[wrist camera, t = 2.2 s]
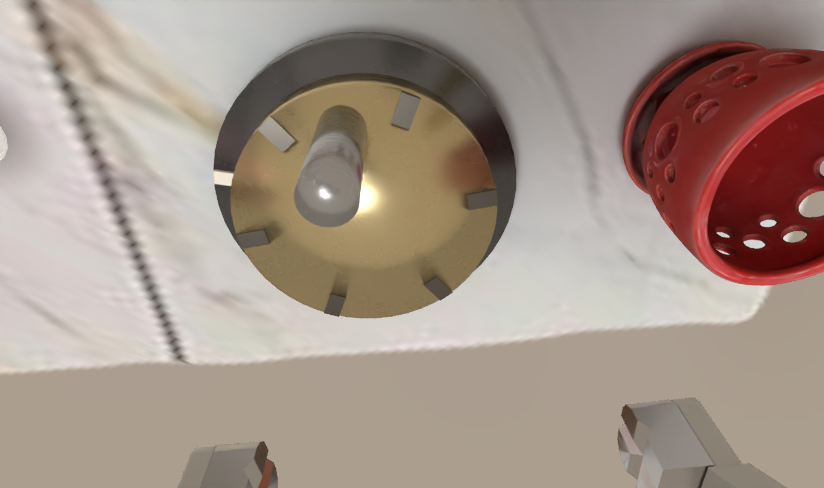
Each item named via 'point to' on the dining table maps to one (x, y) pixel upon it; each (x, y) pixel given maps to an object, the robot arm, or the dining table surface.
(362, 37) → the grey round ring
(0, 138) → the beverage cup
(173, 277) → the dining table surface
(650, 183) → the plant pot
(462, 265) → the tan disc with rod
